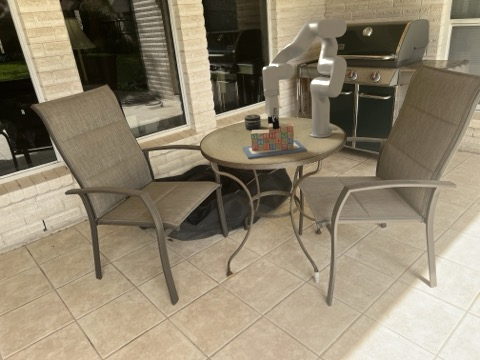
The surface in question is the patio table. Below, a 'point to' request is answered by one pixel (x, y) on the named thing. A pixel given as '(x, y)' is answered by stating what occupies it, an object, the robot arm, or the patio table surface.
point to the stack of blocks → (274, 138)
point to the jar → (252, 122)
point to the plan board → (272, 151)
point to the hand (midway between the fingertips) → (273, 126)
